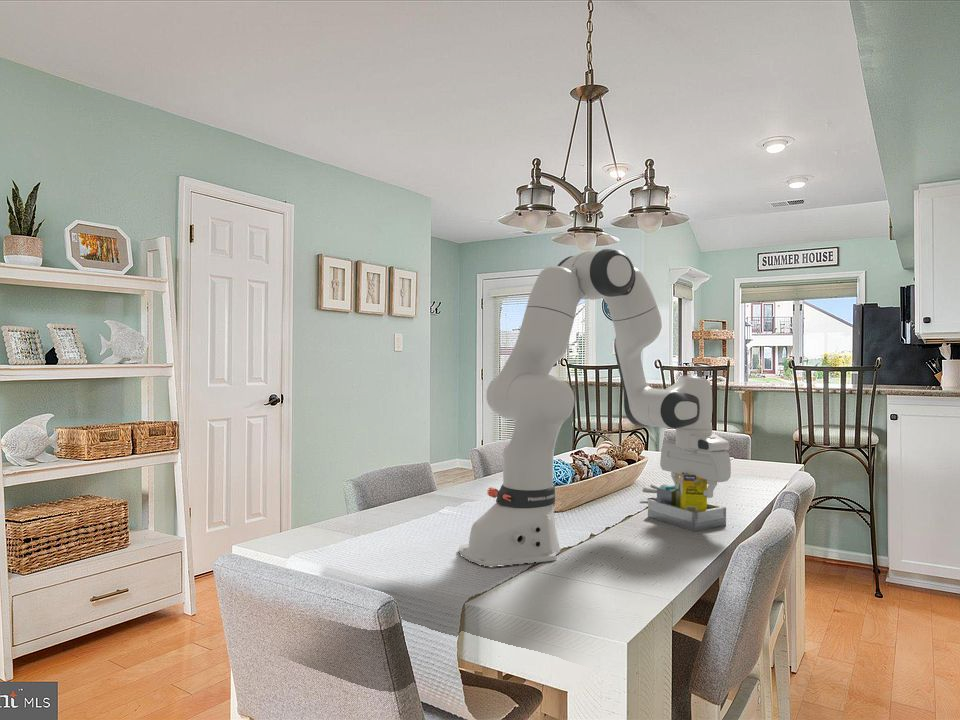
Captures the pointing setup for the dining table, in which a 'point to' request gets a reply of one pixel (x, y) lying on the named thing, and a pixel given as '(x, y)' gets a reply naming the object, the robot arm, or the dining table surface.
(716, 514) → the tray
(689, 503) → the supplement box
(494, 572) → the dining table surface
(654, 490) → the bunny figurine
